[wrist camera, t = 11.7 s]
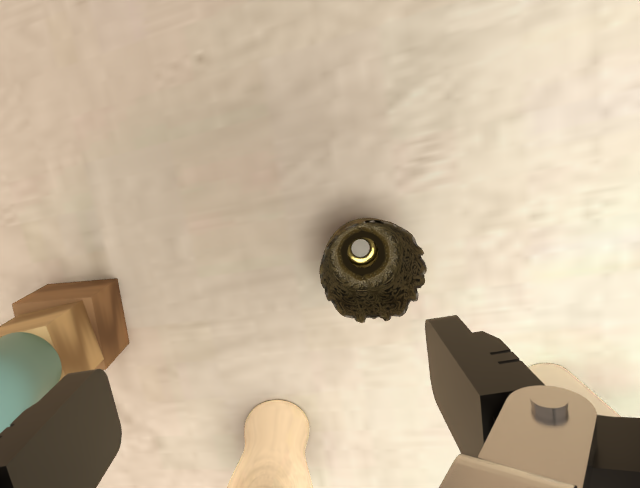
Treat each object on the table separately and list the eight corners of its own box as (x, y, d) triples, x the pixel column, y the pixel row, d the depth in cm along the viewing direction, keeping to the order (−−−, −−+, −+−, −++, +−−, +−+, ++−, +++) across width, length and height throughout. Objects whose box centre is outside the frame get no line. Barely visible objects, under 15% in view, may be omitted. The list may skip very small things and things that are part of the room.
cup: (316, 288, 40) (318, 323, 33) (318, 204, 39) (320, 220, 31) (400, 289, 41) (423, 324, 33) (406, 206, 39) (430, 222, 31)
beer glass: (224, 423, 43) (182, 568, 28) (282, 380, 42) (270, 507, 28) (271, 473, 44) (254, 637, 30) (328, 433, 43) (340, 580, 29)
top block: (19, 314, 35) (-28, 342, 30) (82, 300, 35) (46, 325, 30) (42, 373, 36) (1, 409, 31) (103, 359, 36) (72, 393, 31)
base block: (48, 283, 40) (11, 304, 35) (117, 278, 40) (91, 297, 35) (62, 348, 41) (29, 376, 36) (129, 342, 41) (105, 369, 36)
